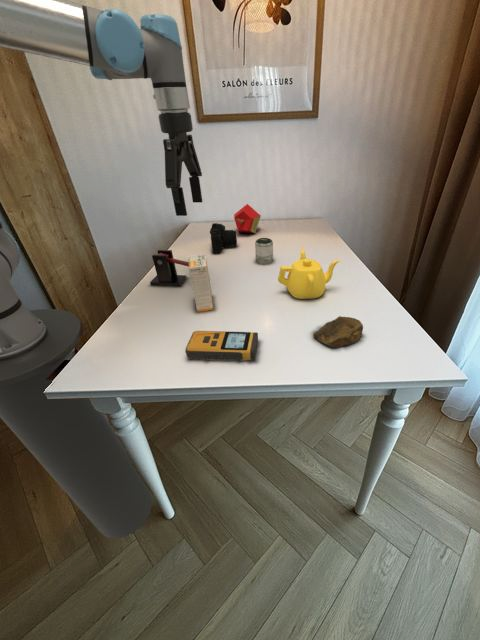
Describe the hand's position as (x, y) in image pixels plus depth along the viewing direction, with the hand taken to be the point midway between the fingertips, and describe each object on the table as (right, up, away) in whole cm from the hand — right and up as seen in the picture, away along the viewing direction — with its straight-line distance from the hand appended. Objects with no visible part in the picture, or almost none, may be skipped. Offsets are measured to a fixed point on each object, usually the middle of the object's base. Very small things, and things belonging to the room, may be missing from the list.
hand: (190, 208), depth 86 cm
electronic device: (+11, -40, -13) cm, 43 cm away
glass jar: (+21, -7, +27) cm, 35 cm away
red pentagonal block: (+14, +14, +53) cm, 56 cm away
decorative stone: (+38, -36, -10) cm, 54 cm away
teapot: (+34, -21, +8) cm, 41 cm away
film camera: (+5, +2, +39) cm, 39 cm away
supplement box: (+3, -26, +4) cm, 27 cm away
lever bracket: (-11, -17, +16) cm, 25 cm away
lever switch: (-6, -13, +11) cm, 18 cm away
